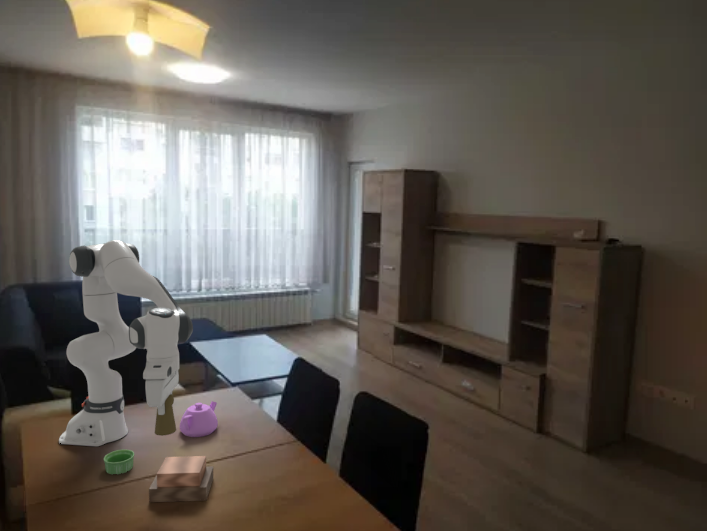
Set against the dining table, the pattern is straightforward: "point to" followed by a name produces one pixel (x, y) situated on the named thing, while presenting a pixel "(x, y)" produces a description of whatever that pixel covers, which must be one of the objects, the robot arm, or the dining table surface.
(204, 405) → the teapot
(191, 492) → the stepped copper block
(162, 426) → the cork
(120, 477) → the dining table surface
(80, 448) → the dining table surface
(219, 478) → the dining table surface
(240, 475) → the dining table surface
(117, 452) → the ramekin
